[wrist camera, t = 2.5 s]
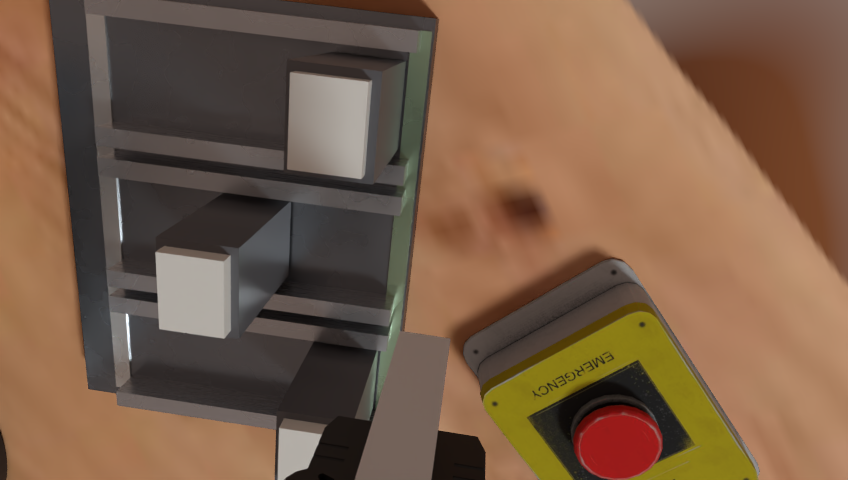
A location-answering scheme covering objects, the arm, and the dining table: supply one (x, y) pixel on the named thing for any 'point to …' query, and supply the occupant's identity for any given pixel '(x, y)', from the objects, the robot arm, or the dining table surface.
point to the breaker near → (342, 115)
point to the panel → (227, 190)
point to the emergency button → (603, 387)
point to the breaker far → (322, 401)
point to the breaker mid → (222, 265)
